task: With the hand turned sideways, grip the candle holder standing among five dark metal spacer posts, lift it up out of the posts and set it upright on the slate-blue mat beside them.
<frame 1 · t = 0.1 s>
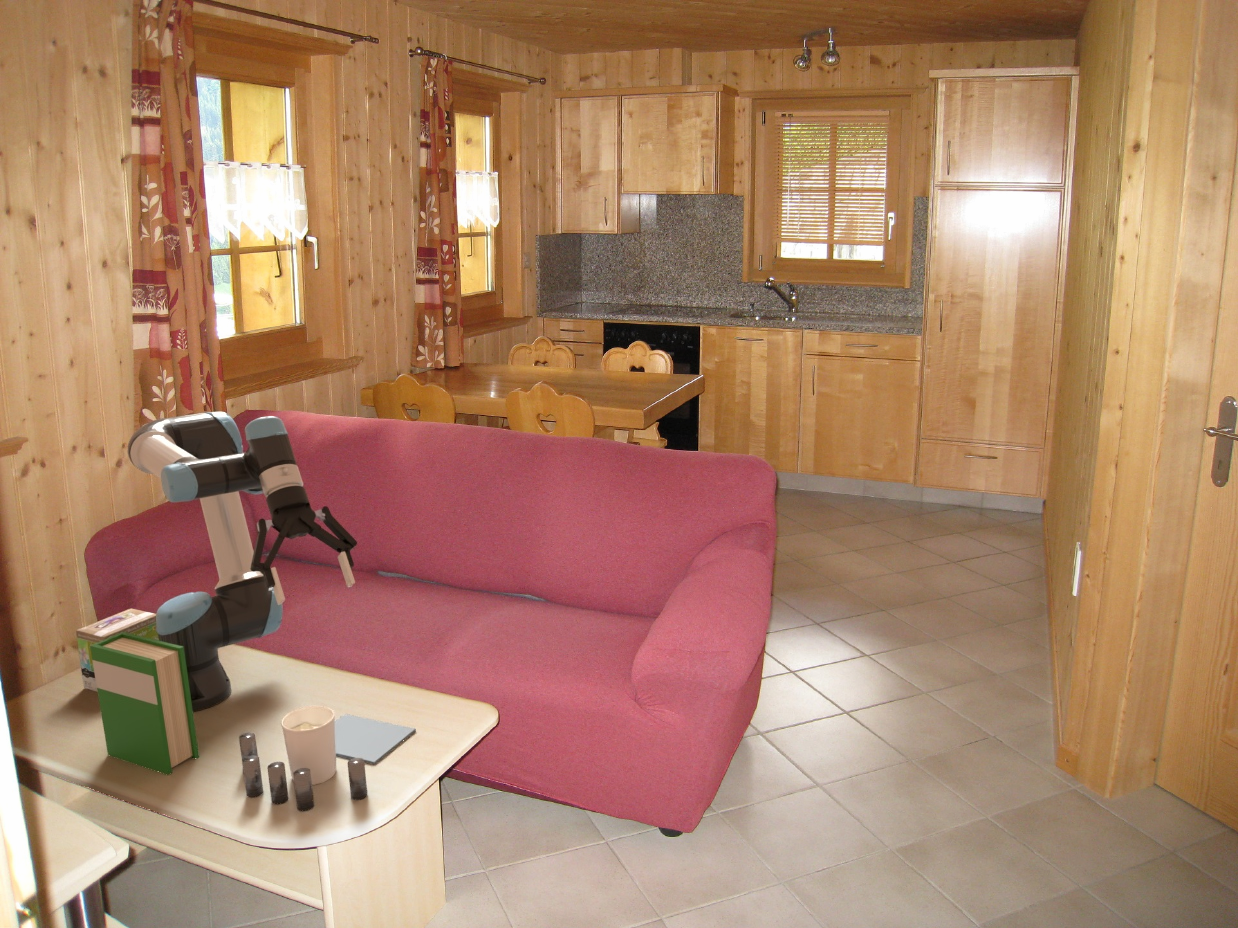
hand: (317, 593, 189), 36 cm above the table, tool tilted 35°, fingers open, 13 cm apart
hardback book: (153, 756, 202), on the table
spacer posts: (314, 773, 194), on the table
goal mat: (359, 739, 207), on the table
tea box: (126, 679, 237), on the table
candle holder: (314, 774, 194), on the table
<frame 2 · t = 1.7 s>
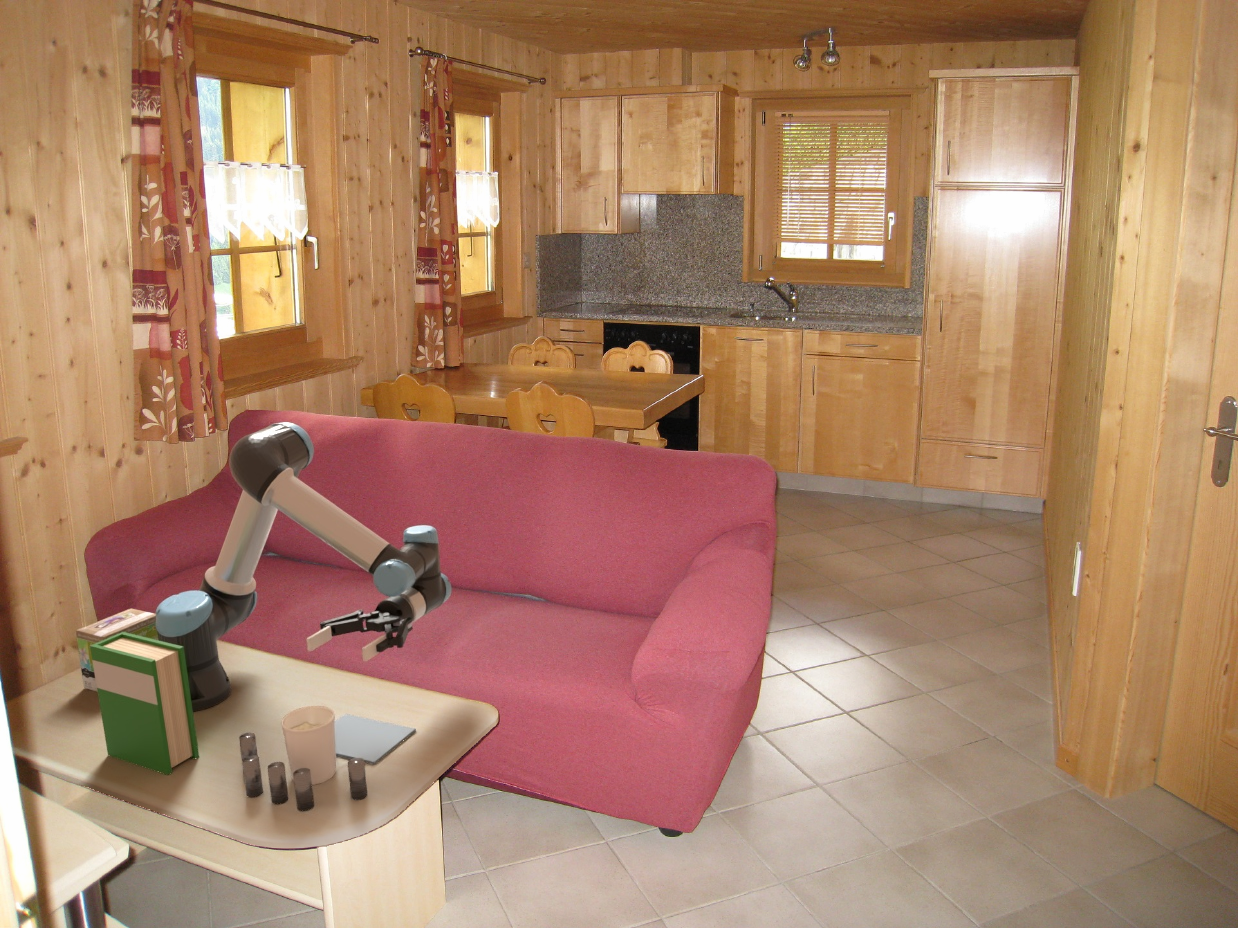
hand: (335, 649, 197), 22 cm above the table, tool horizontal, fingers open, 13 cm apart
nothing on the table moved.
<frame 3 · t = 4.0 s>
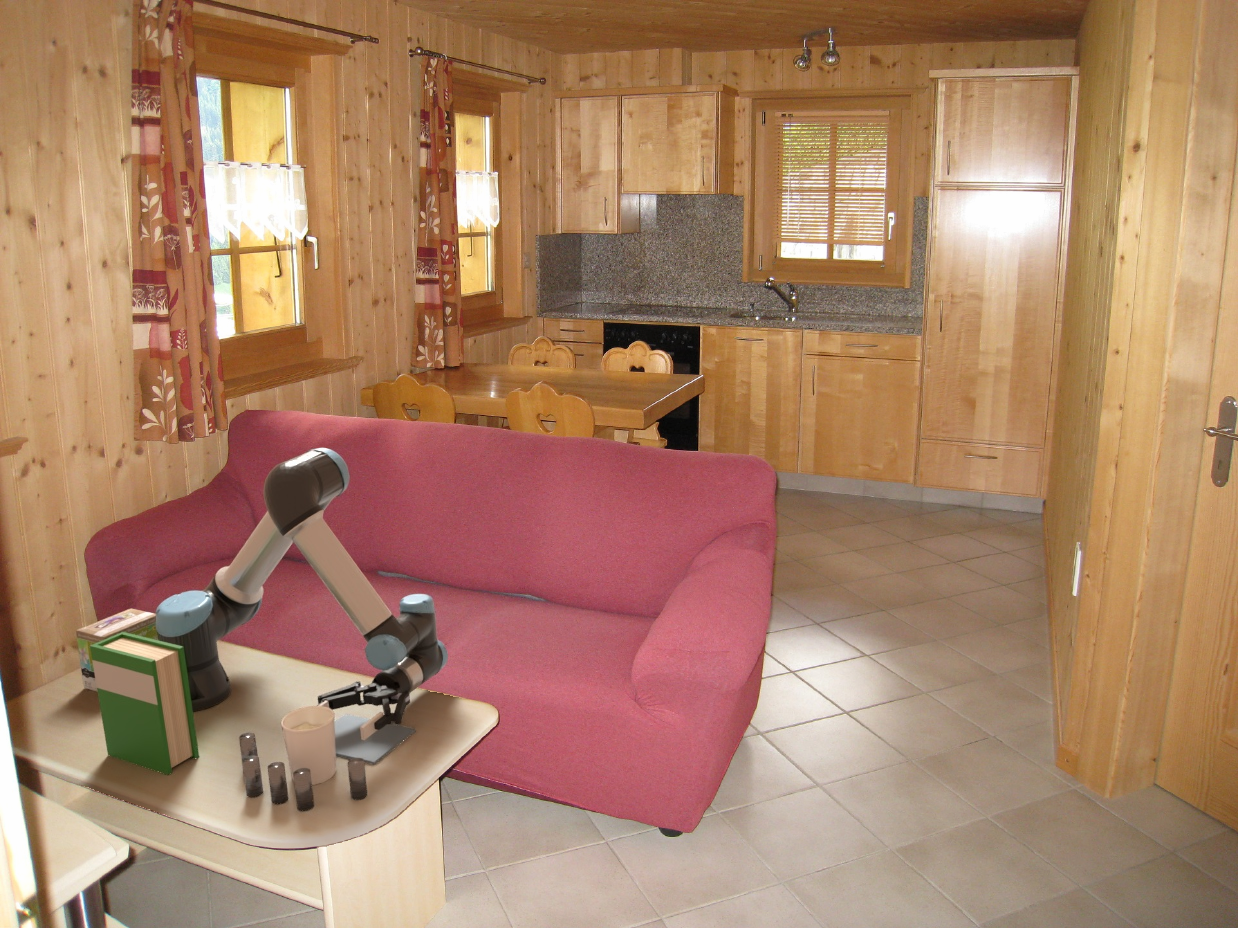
hand: (333, 727, 198), 7 cm above the table, tool horizontal, fingers open, 13 cm apart
nothing on the table moved.
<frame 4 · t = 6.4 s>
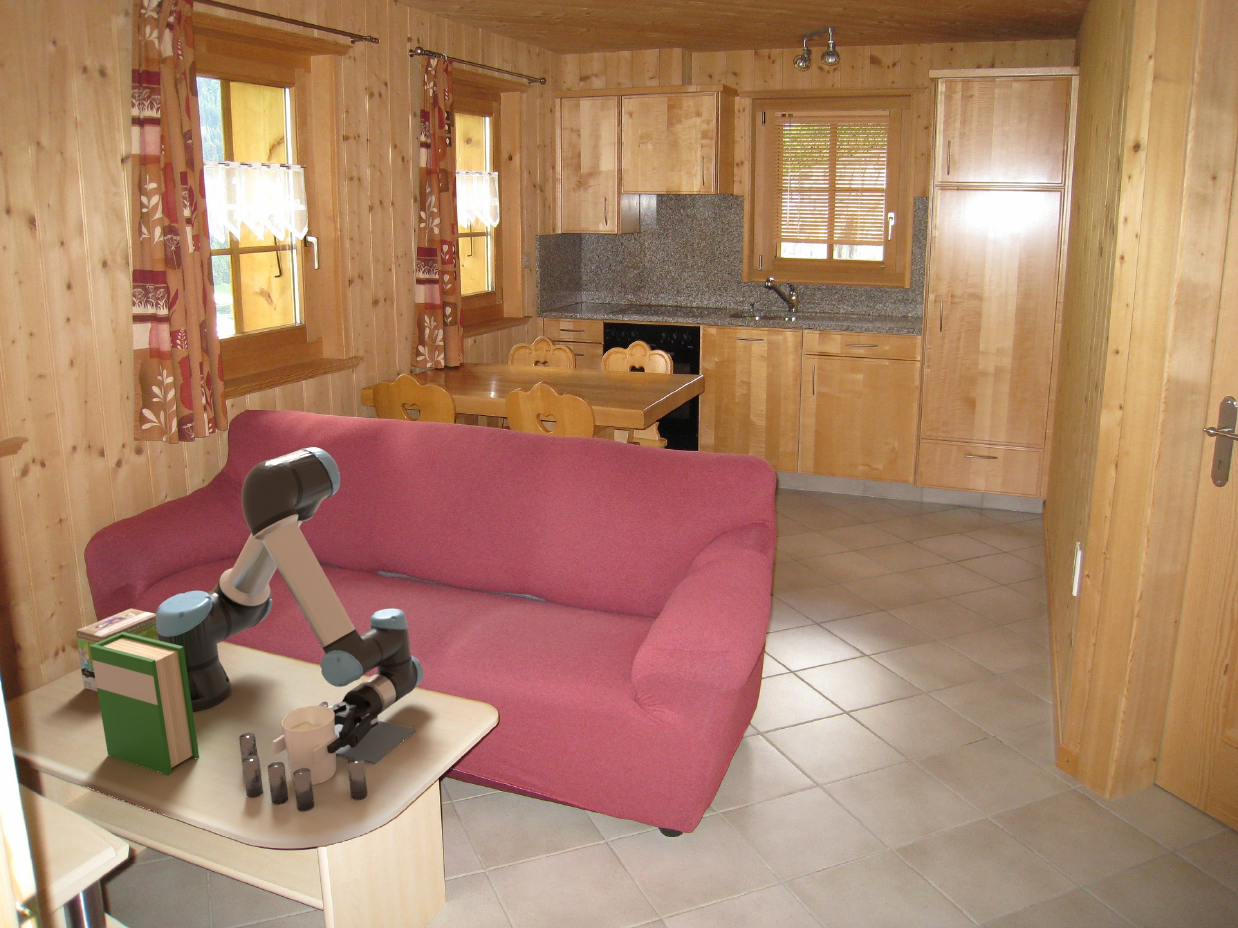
hand: (294, 752, 188), 7 cm above the table, tool horizontal, fingers closed on candle holder, 9 cm apart
candle holder: (314, 774, 194), on the table, touching gripper
everything else where it was.
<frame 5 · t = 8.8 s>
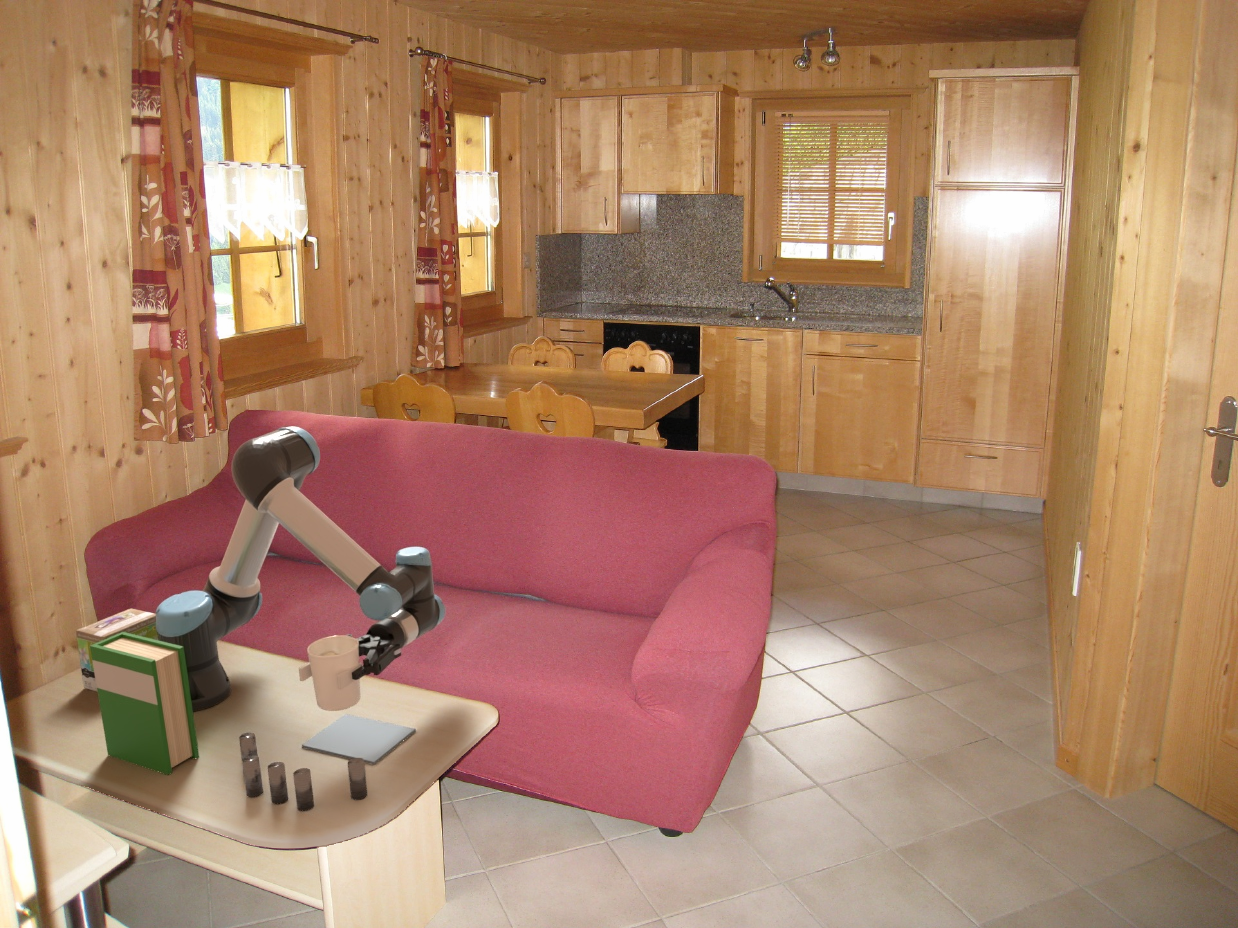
hand: (319, 678, 194), 18 cm above the table, tool horizontal, fingers closed on candle holder, 9 cm apart
candle holder: (339, 702, 199), point 11 cm above the table, touching gripper
everything else where it was.
when the fingers open (9 cm above the table, at t = 11.4 s): candle holder drops 1 cm, resting on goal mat.
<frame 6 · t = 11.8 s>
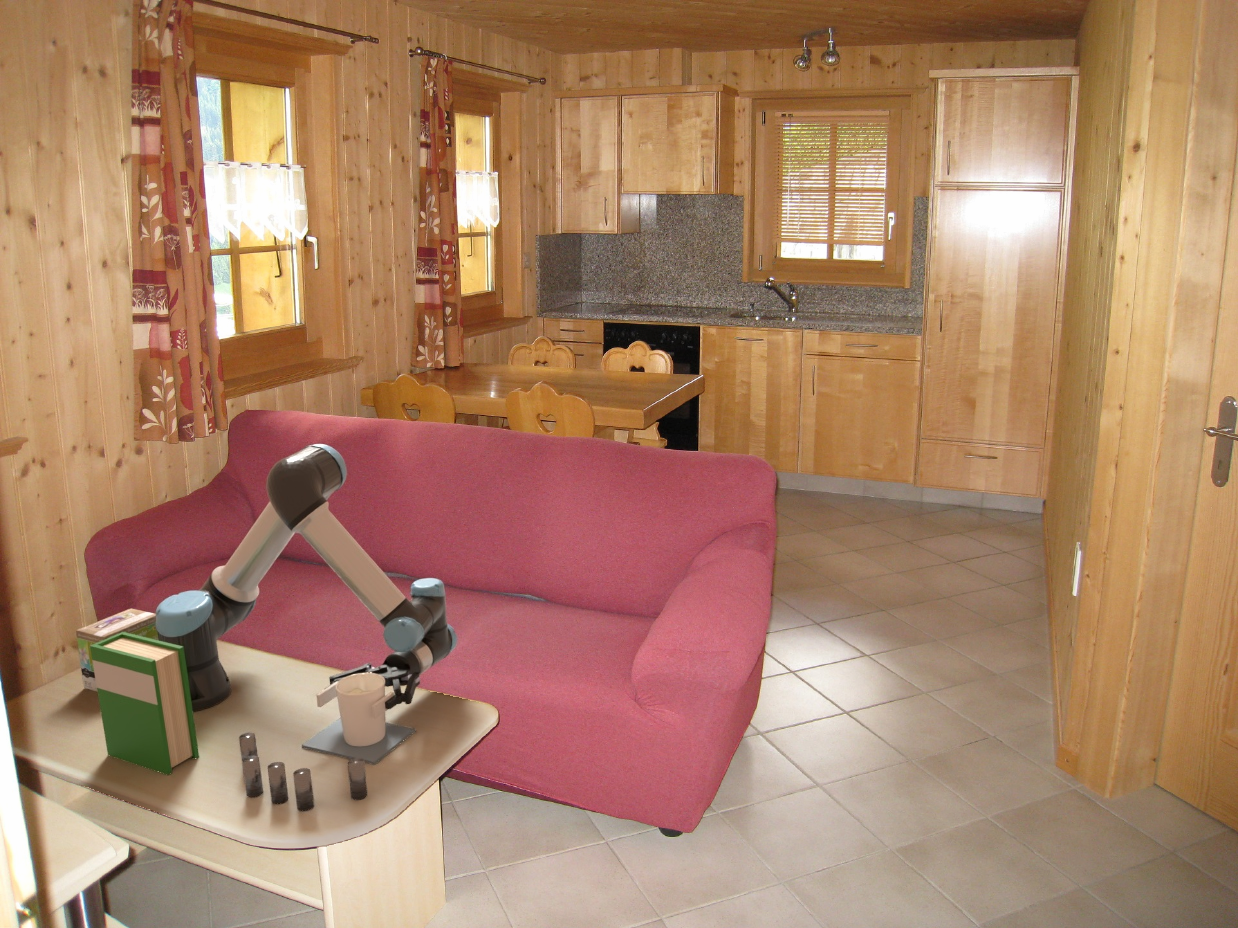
hand: (345, 706, 202), 9 cm above the table, tool horizontal, fingers open, 13 cm apart
candle holder: (365, 737, 206), resting on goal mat
everything else where it was.
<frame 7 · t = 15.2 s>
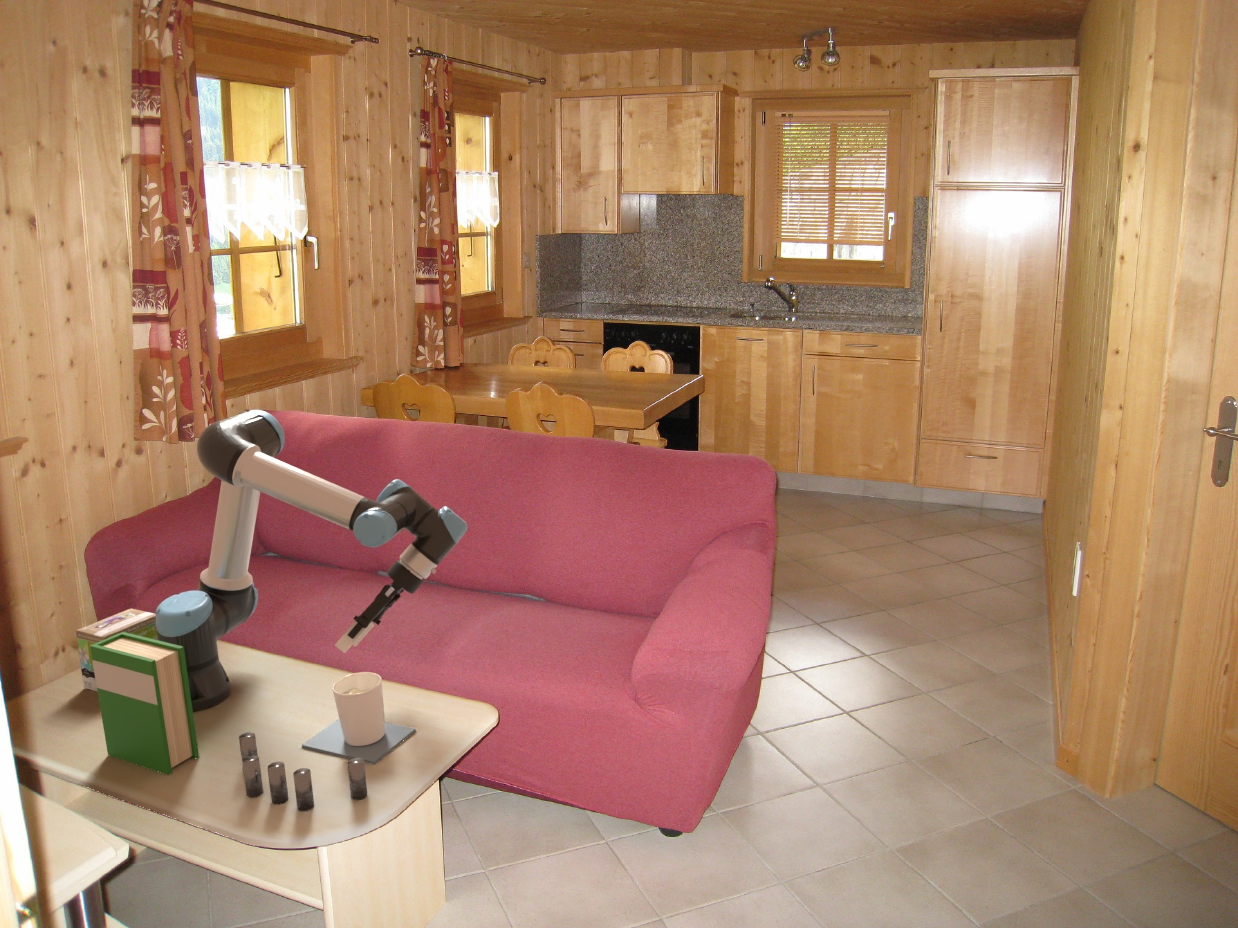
hand: (345, 646, 215), 15 cm above the table, tool tilted 45°, fingers open, 13 cm apart
nothing on the table moved.
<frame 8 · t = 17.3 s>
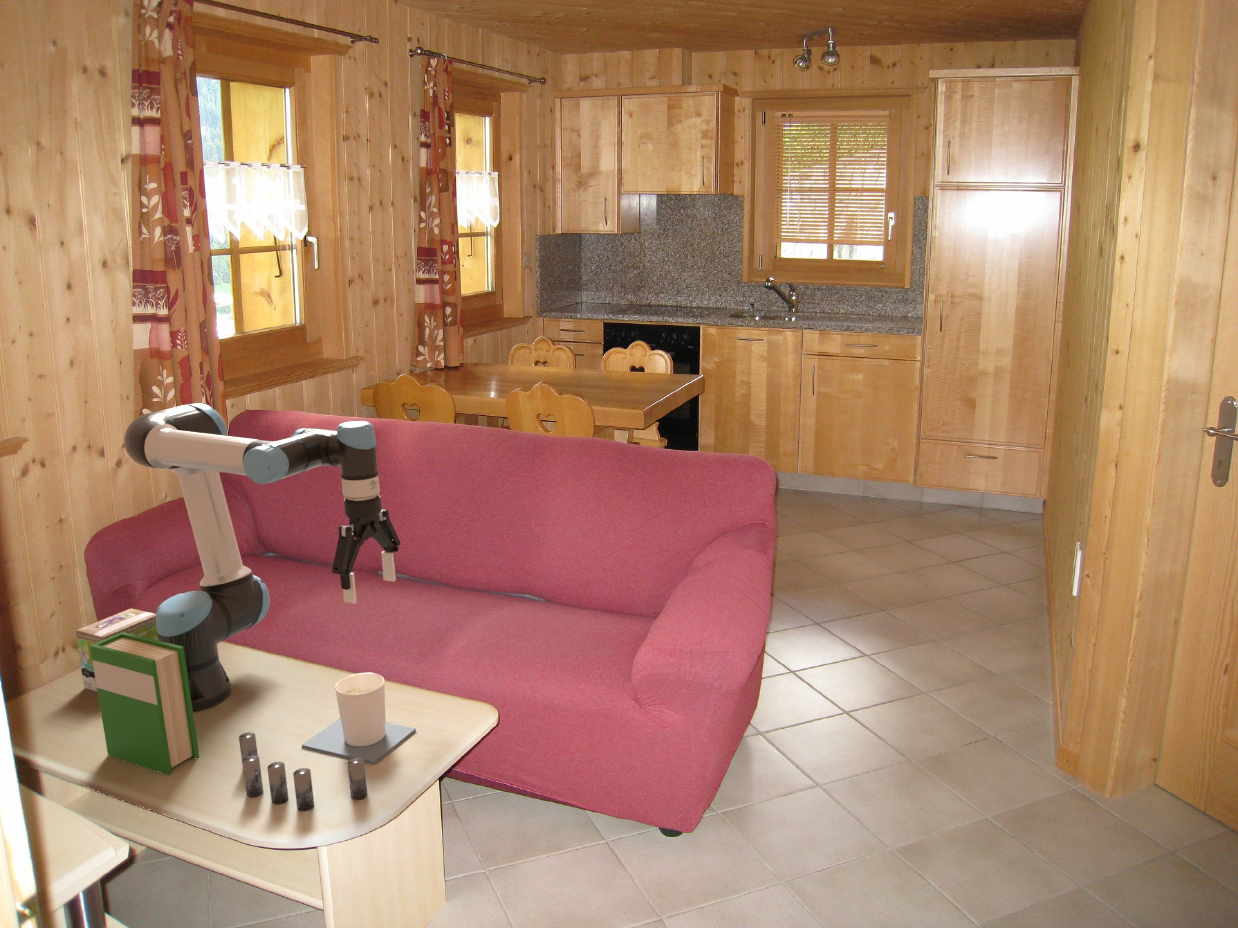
hand: (370, 591, 215), 27 cm above the table, tool pointing down, fingers open, 13 cm apart
nothing on the table moved.
at the end: candle holder inside the target area on the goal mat (1.2 cm from its centre), point 0.4 cm above the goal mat's base; candle holder tilted 0°; the gripper is holding nothing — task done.
